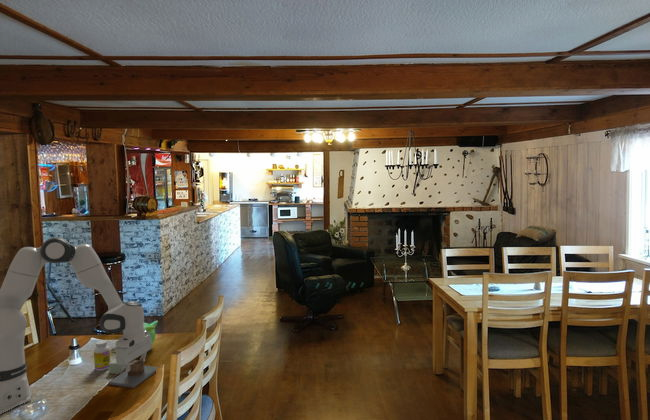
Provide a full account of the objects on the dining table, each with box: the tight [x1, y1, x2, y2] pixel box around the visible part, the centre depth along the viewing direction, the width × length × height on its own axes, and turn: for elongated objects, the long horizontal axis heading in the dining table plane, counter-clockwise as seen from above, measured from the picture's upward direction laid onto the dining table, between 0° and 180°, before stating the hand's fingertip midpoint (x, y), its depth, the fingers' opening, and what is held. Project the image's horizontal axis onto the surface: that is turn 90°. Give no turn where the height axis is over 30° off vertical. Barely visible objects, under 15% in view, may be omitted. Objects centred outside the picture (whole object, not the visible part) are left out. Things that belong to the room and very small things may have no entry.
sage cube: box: [108, 358, 126, 375], centre depth 208 cm, size 5×5×5 cm
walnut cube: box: [128, 359, 145, 376], centre depth 203 cm, size 5×5×5 cm
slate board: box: [108, 365, 159, 389], centre depth 202 cm, size 18×13×1 cm
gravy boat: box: [143, 320, 159, 344], centre depth 233 cm, size 18×17×15 cm
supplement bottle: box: [93, 339, 111, 372], centre depth 211 cm, size 7×7×13 cm
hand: (135, 366), depth 202 cm, fingers open, 8 cm apart
